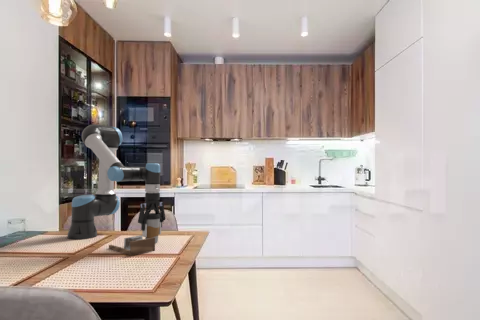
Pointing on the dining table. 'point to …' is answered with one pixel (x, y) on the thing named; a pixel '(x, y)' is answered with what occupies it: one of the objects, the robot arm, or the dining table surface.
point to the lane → (137, 247)
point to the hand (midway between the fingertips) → (151, 235)
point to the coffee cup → (153, 226)
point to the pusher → (130, 239)
